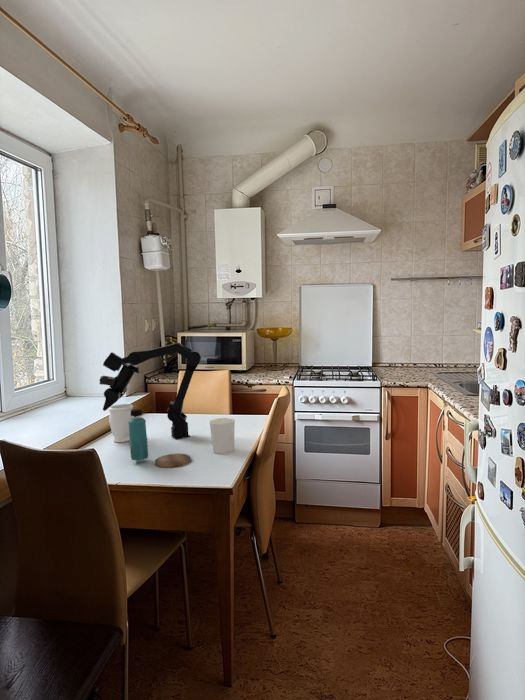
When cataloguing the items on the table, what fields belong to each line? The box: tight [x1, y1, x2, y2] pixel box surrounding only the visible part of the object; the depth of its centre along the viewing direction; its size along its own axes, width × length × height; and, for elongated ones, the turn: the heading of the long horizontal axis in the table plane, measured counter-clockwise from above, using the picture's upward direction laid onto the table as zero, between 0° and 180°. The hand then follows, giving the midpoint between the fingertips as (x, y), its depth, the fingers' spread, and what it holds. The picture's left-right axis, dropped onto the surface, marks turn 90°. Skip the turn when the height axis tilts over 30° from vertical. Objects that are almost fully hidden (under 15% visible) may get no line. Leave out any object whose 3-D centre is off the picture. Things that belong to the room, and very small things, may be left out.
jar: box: [107, 403, 135, 443], centre depth 205 cm, size 11×10×15 cm
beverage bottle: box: [128, 408, 150, 462], centre depth 174 cm, size 6×7×20 cm
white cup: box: [209, 417, 236, 455], centre depth 184 cm, size 10×10×12 cm
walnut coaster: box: [154, 453, 192, 469], centre depth 173 cm, size 13×13×1 cm
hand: (106, 408), depth 202 cm, fingers open, 9 cm apart
